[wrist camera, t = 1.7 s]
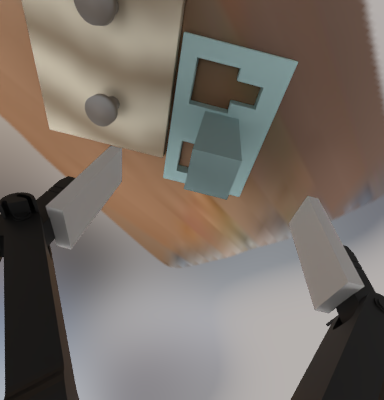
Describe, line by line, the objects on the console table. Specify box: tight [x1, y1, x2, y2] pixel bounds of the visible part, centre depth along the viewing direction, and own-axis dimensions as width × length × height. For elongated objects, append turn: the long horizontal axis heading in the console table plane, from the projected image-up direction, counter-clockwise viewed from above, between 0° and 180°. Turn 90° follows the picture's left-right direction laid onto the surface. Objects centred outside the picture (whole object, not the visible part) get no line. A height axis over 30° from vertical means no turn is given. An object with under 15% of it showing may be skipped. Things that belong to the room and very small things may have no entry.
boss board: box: [22, 0, 185, 158], centre depth 20 cm, size 18×14×4 cm
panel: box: [163, 32, 298, 200], centre depth 20 cm, size 15×10×10 cm, turn 168°
